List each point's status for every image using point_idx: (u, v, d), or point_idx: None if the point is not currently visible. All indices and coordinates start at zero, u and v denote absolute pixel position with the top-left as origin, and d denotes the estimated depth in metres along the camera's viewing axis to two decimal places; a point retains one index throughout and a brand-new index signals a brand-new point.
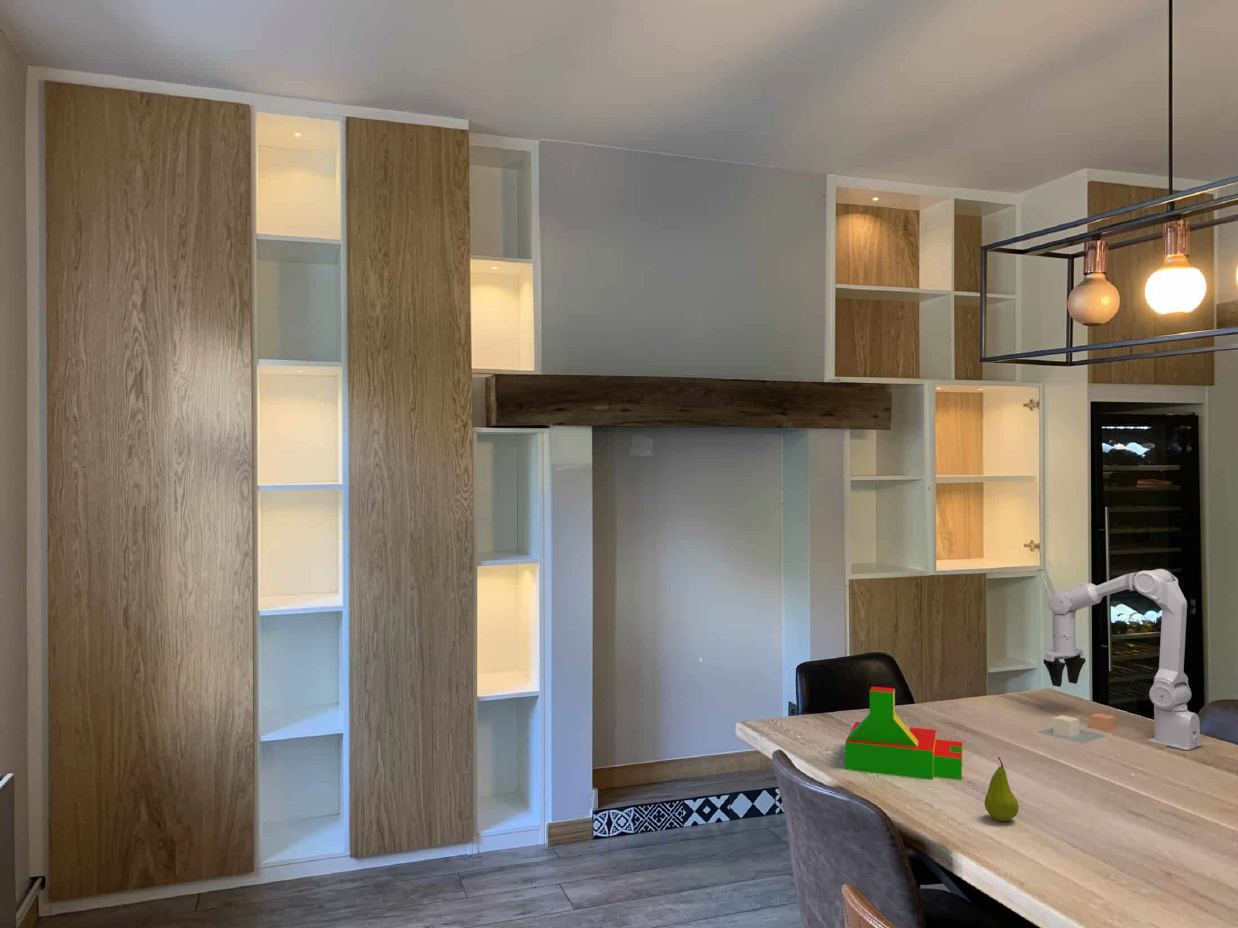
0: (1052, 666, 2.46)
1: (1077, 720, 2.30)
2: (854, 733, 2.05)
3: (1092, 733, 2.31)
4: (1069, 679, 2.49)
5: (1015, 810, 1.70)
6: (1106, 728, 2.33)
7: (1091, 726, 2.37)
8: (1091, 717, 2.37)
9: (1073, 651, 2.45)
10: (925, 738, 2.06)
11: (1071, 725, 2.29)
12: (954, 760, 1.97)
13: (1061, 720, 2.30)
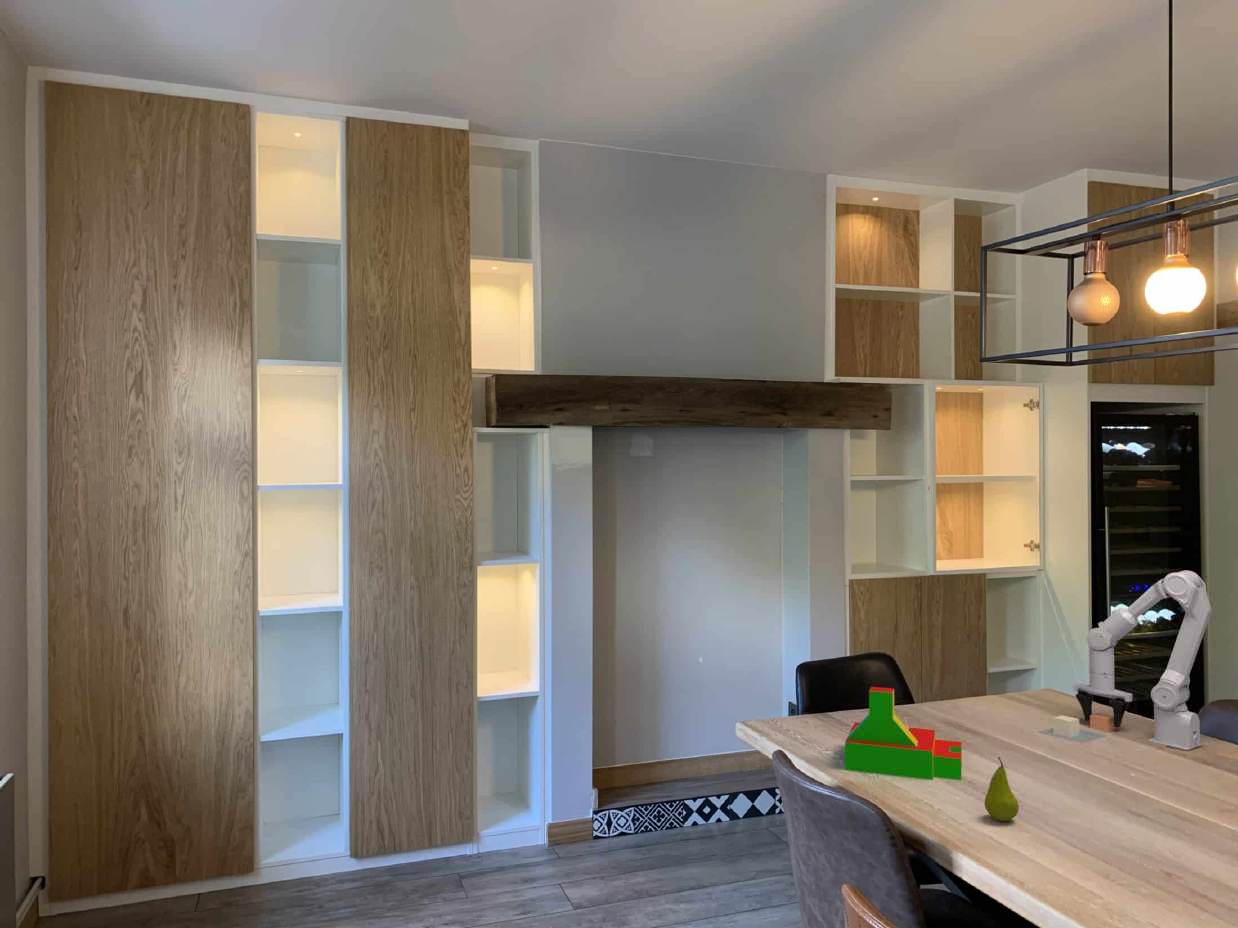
0: None
1: (1077, 720, 2.30)
2: (854, 733, 2.05)
3: (1092, 733, 2.31)
4: None
5: (1015, 810, 1.70)
6: (1106, 728, 2.33)
7: (1091, 726, 2.37)
8: (1091, 717, 2.37)
9: (1096, 688, 2.35)
10: (925, 738, 2.06)
11: (1071, 725, 2.29)
12: (954, 760, 1.96)
13: (1061, 720, 2.30)
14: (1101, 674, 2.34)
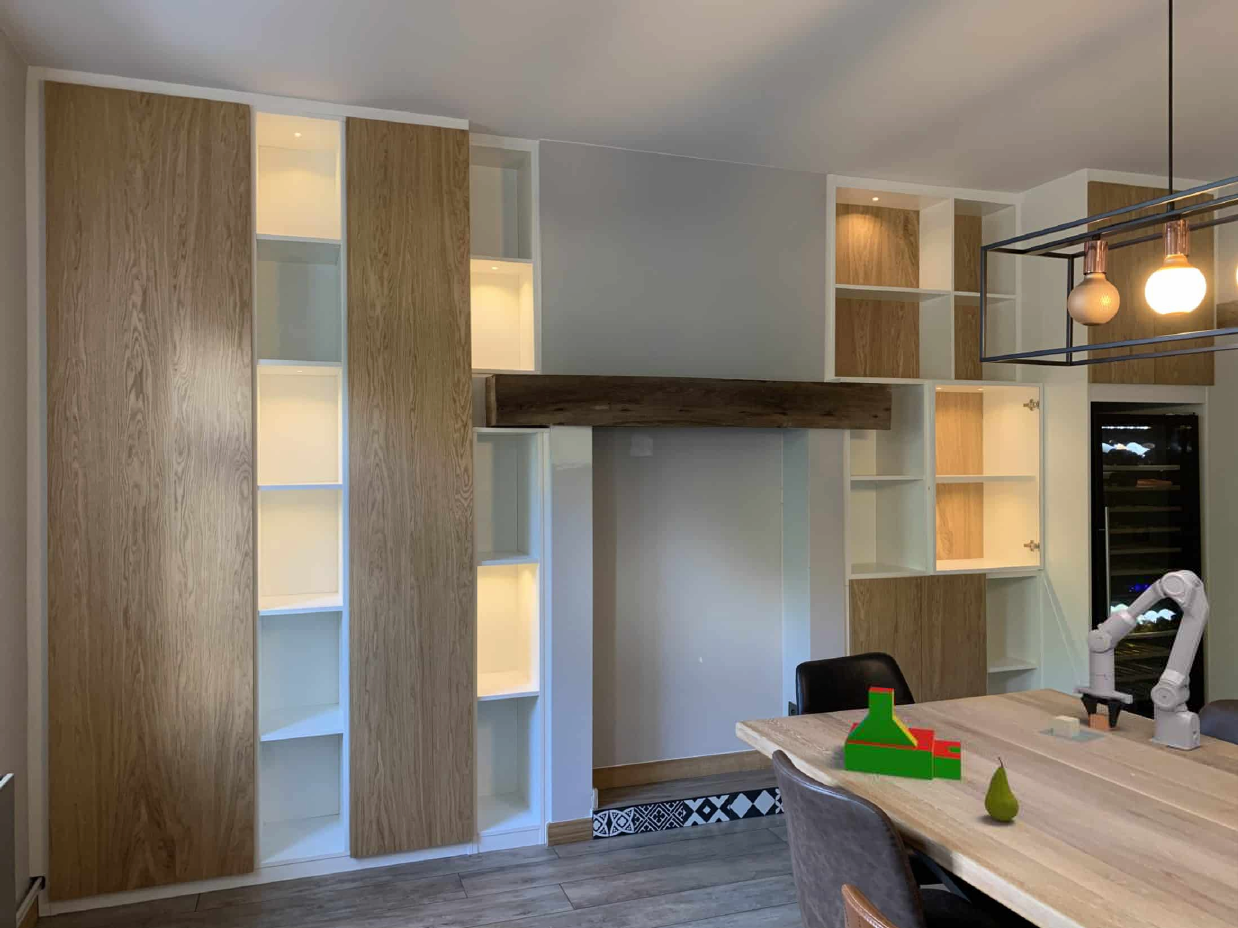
0: None
1: (1077, 720, 2.30)
2: (853, 734, 2.04)
3: (1092, 733, 2.31)
4: None
5: (1015, 810, 1.70)
6: (1106, 727, 2.33)
7: (1091, 726, 2.37)
8: (1091, 717, 2.37)
9: (1096, 690, 2.35)
10: (924, 738, 2.06)
11: (1071, 725, 2.29)
12: (954, 761, 1.96)
13: (1061, 720, 2.30)
14: (1101, 676, 2.34)
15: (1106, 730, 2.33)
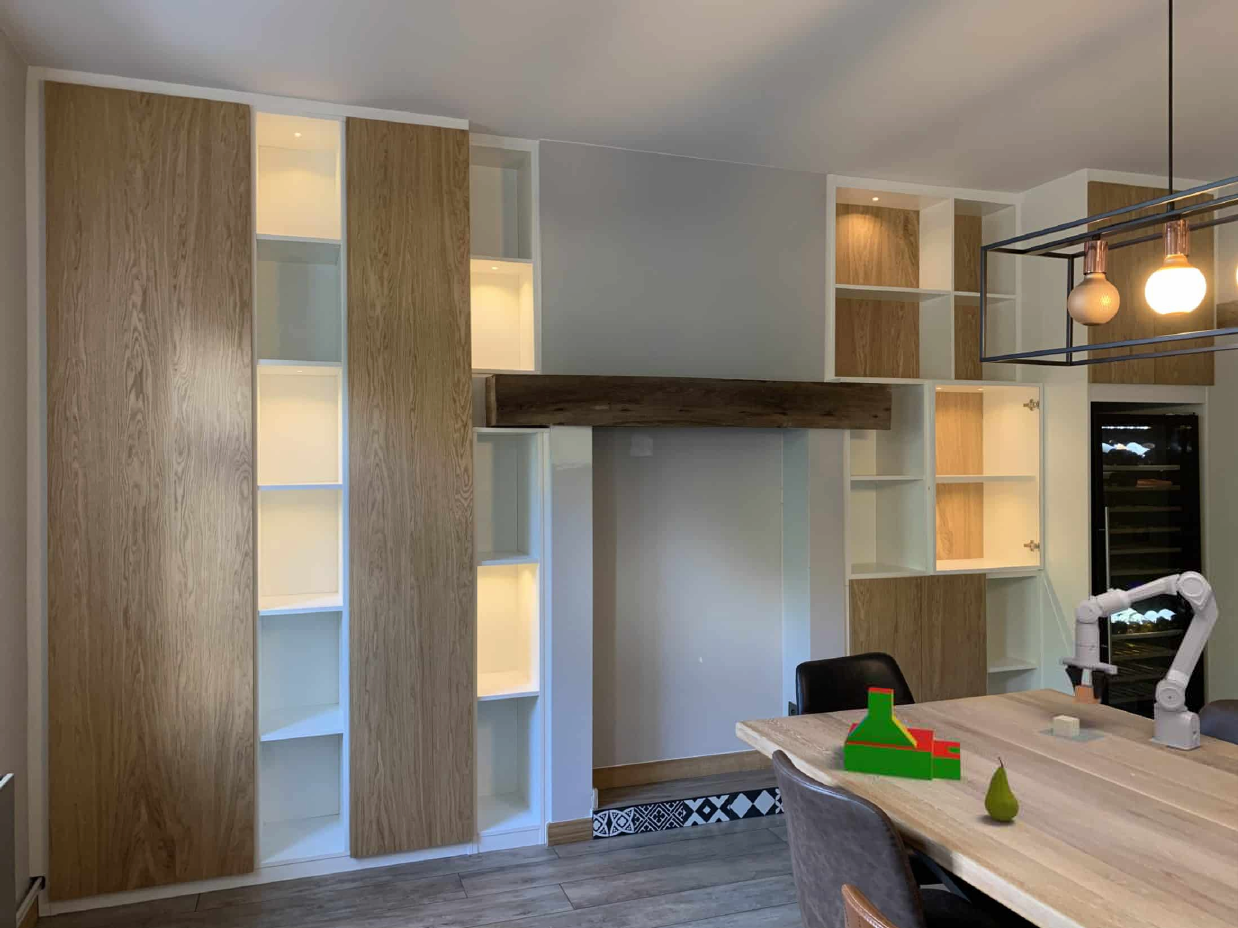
0: None
1: (1077, 720, 2.30)
2: (852, 734, 2.04)
3: (1092, 733, 2.31)
4: None
5: (1015, 810, 1.70)
6: (1091, 699, 2.32)
7: (1076, 697, 2.35)
8: (1076, 688, 2.35)
9: (1080, 661, 2.34)
10: (924, 739, 2.06)
11: (1071, 725, 2.29)
12: (953, 761, 1.96)
13: (1061, 720, 2.30)
14: (1086, 647, 2.33)
15: (1091, 701, 2.32)
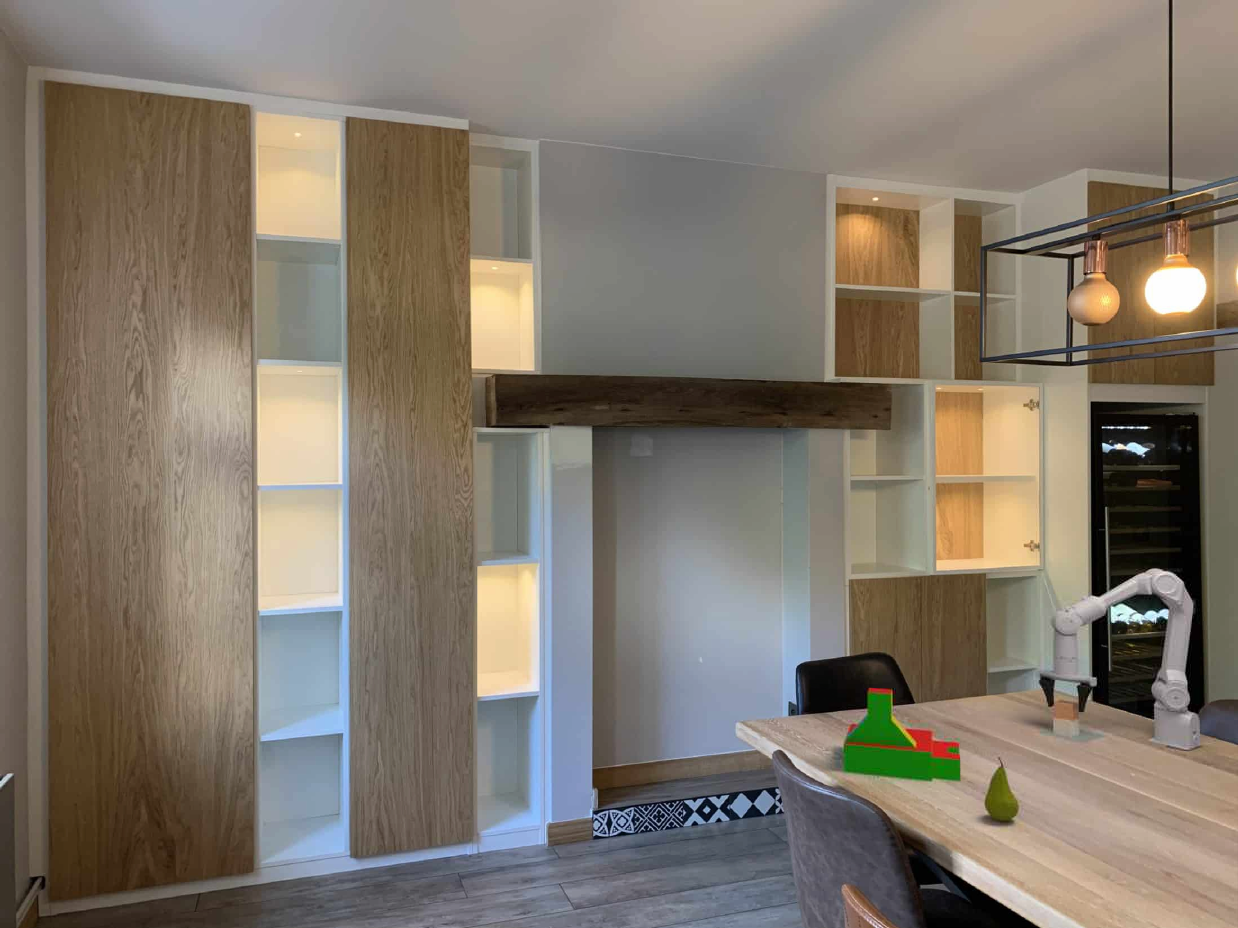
0: None
1: (1077, 720, 2.30)
2: (852, 735, 2.03)
3: (1092, 733, 2.31)
4: None
5: (1015, 810, 1.70)
6: (1071, 715, 2.29)
7: (1055, 713, 2.32)
8: (1055, 704, 2.32)
9: (1060, 673, 2.30)
10: (923, 739, 2.05)
11: (1071, 725, 2.29)
12: (953, 761, 1.96)
13: (1061, 720, 2.30)
14: (1066, 659, 2.29)
15: (1071, 718, 2.29)
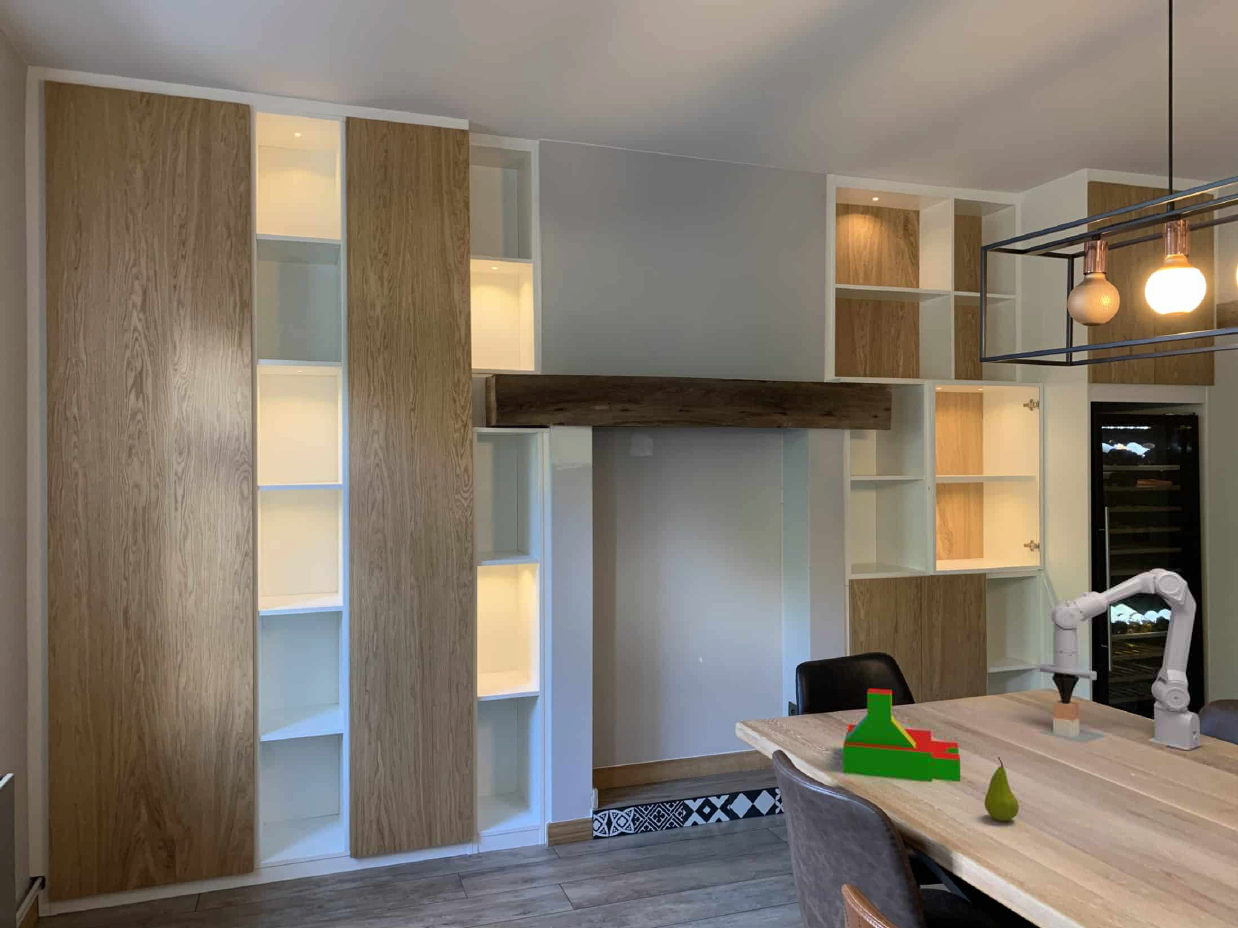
0: None
1: (1077, 720, 2.30)
2: (851, 736, 2.03)
3: (1092, 733, 2.31)
4: None
5: (1015, 810, 1.70)
6: (1071, 715, 2.29)
7: (1055, 713, 2.32)
8: (1055, 704, 2.32)
9: (1060, 667, 2.30)
10: (922, 739, 2.05)
11: (1071, 725, 2.29)
12: (953, 762, 1.95)
13: (1061, 720, 2.30)
14: (1066, 653, 2.29)
15: (1071, 718, 2.29)
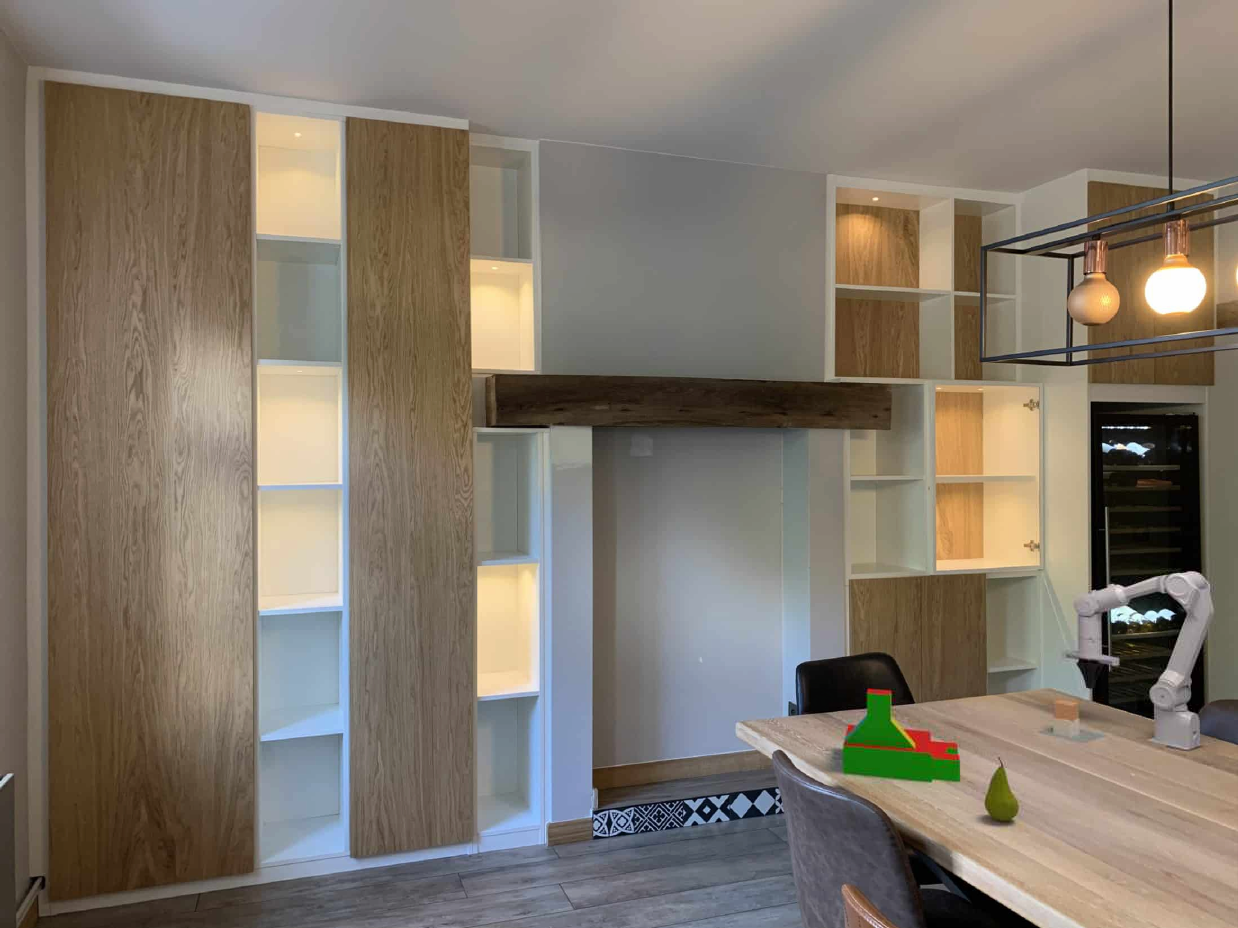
0: None
1: (1077, 720, 2.30)
2: (851, 736, 2.02)
3: (1092, 733, 2.31)
4: None
5: (1015, 810, 1.70)
6: (1071, 715, 2.29)
7: (1055, 713, 2.32)
8: (1055, 704, 2.32)
9: (1083, 653, 2.40)
10: (921, 740, 2.04)
11: (1071, 725, 2.29)
12: (953, 762, 1.95)
13: (1061, 720, 2.30)
14: (1089, 639, 2.39)
15: (1071, 718, 2.29)
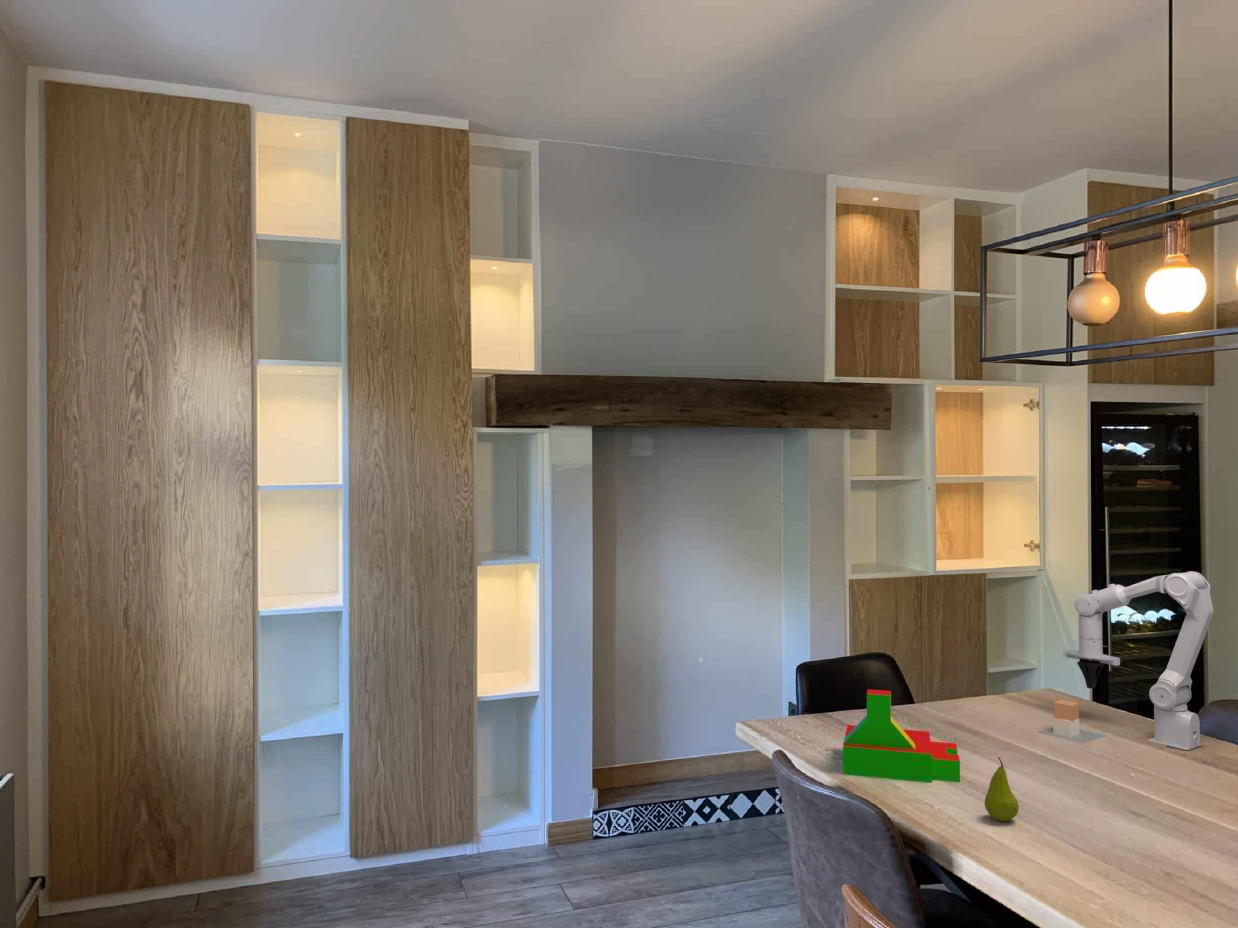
0: None
1: (1077, 720, 2.30)
2: (851, 737, 2.02)
3: (1092, 733, 2.31)
4: None
5: (1015, 810, 1.70)
6: (1071, 715, 2.29)
7: (1055, 713, 2.32)
8: (1055, 704, 2.32)
9: (1084, 653, 2.40)
10: (921, 740, 2.04)
11: (1071, 725, 2.29)
12: (953, 763, 1.95)
13: (1061, 720, 2.30)
14: (1089, 639, 2.39)
15: (1071, 718, 2.29)
